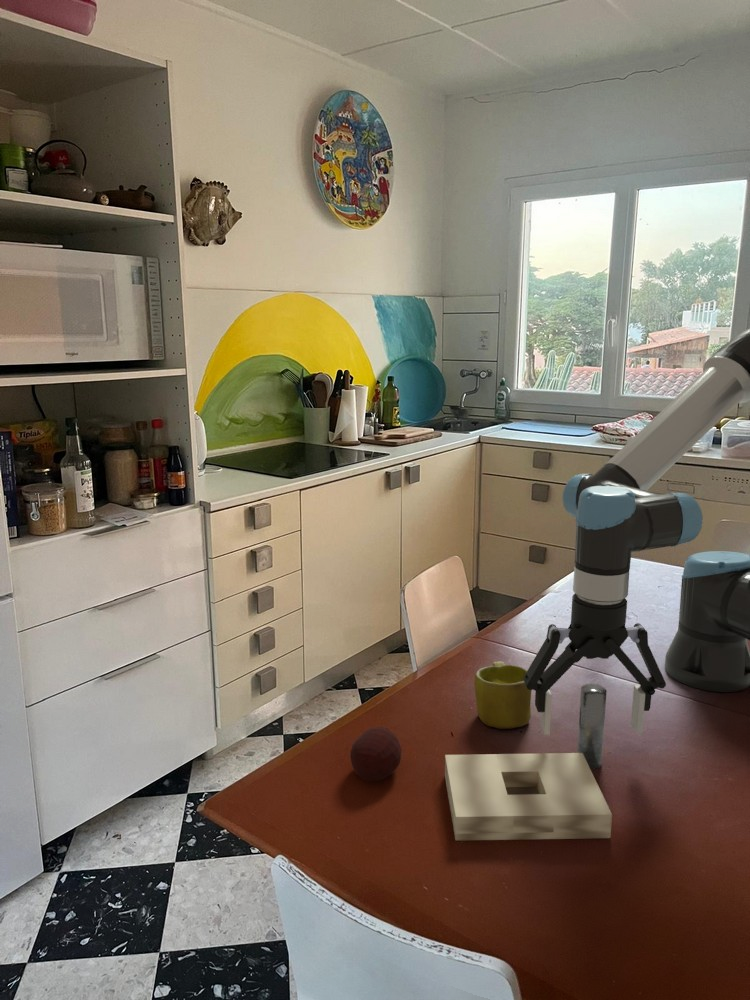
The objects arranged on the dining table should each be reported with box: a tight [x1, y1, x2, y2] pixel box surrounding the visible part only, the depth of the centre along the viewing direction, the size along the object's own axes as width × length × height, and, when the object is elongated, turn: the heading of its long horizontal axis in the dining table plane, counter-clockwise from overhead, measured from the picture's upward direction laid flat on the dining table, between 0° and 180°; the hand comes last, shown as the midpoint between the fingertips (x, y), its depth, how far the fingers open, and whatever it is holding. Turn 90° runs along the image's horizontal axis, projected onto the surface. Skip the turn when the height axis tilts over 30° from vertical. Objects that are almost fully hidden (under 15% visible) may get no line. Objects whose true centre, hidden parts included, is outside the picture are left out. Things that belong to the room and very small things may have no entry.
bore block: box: [444, 752, 613, 842], centre depth 105 cm, size 20×14×4 cm
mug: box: [473, 660, 532, 730], centre depth 128 cm, size 12×10×10 cm
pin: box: [576, 683, 608, 770], centre depth 114 cm, size 4×4×12 cm
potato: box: [350, 726, 402, 782], centre depth 113 cm, size 7×10×6 cm
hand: (590, 729), depth 114 cm, fingers open, 13 cm apart
